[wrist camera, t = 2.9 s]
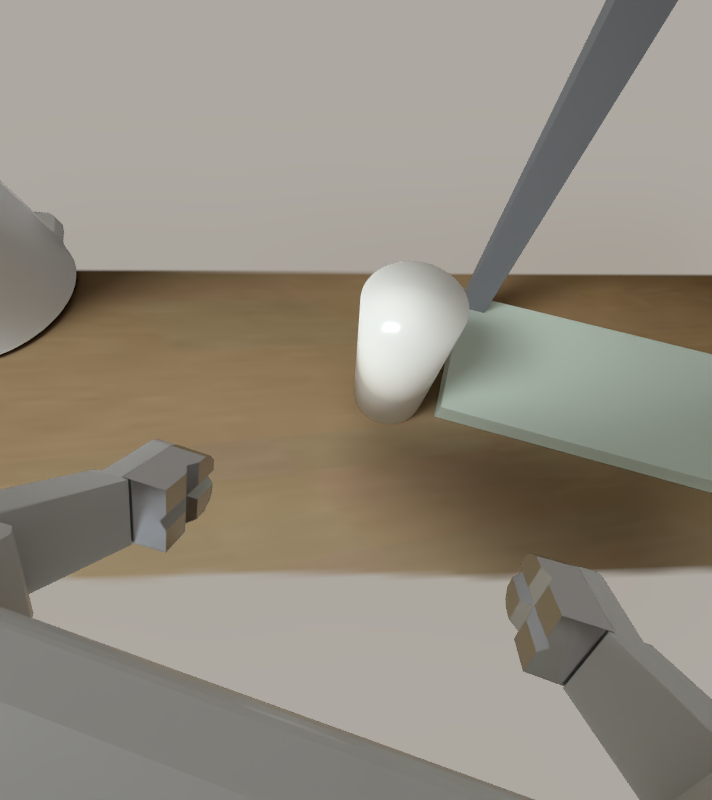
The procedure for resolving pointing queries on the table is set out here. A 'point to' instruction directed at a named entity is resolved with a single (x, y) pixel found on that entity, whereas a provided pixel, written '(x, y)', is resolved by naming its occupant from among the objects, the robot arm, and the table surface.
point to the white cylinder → (405, 337)
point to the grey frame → (570, 340)
